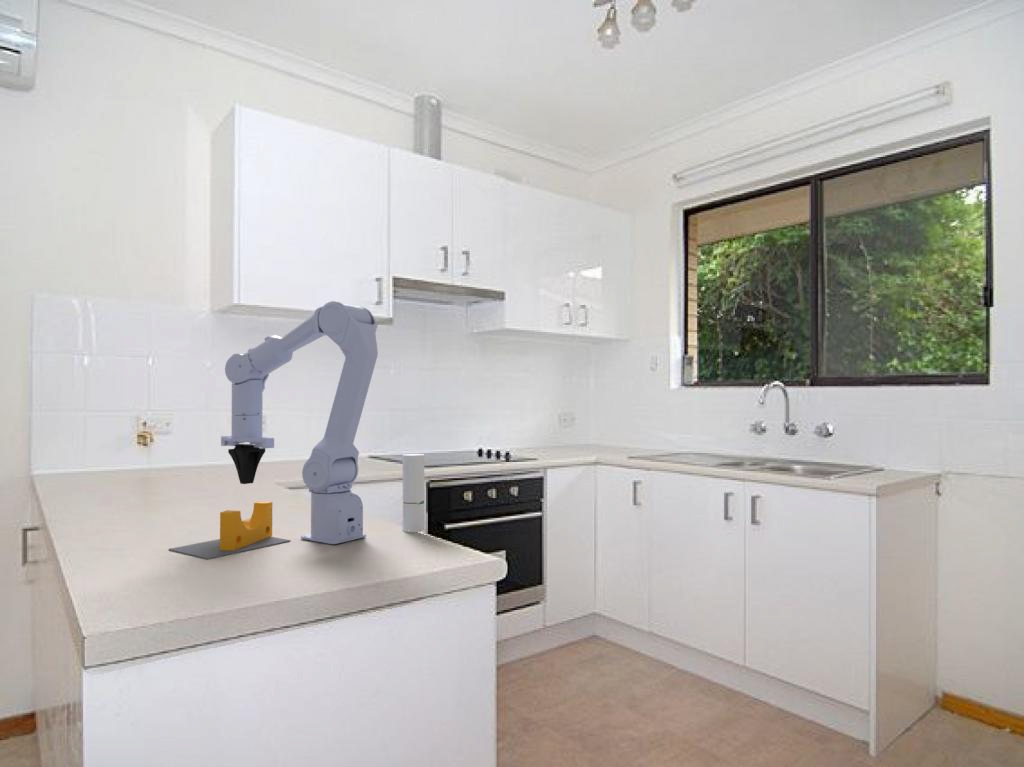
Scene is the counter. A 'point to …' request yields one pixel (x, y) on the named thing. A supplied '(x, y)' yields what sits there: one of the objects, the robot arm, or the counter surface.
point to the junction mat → (213, 550)
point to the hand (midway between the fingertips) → (246, 483)
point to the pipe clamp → (245, 527)
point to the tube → (413, 492)
